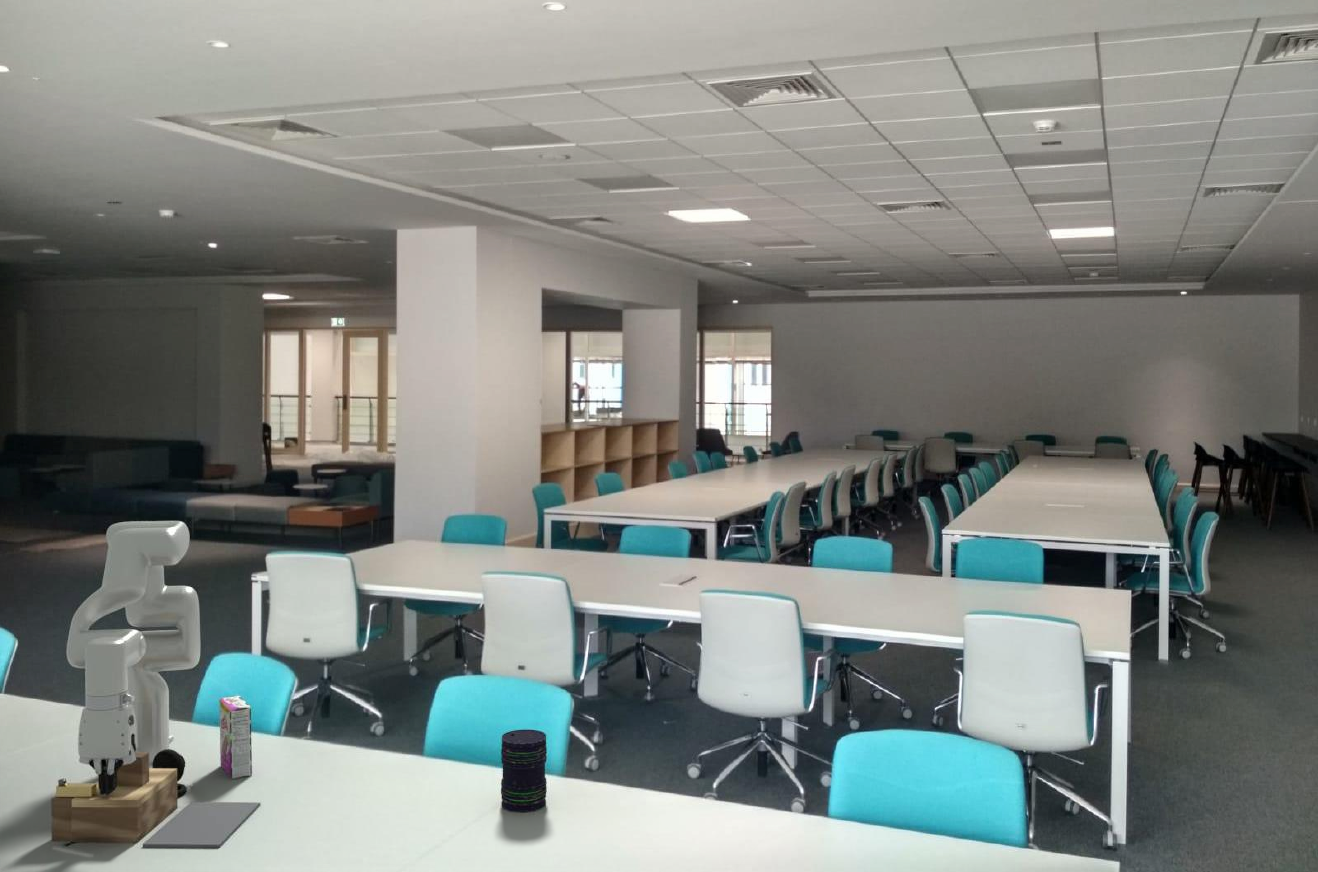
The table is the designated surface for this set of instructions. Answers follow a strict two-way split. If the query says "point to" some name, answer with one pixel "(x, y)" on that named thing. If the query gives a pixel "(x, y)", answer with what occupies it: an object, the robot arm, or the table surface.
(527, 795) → the storage jar
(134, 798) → the lid
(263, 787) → the table surface
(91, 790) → the yellow bar with ball
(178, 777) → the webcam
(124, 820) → the open wooden box
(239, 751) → the candy bar box
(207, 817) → the mat
